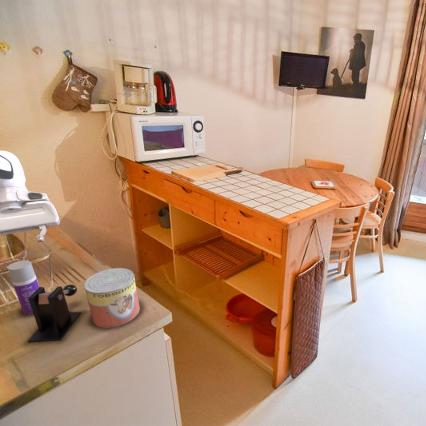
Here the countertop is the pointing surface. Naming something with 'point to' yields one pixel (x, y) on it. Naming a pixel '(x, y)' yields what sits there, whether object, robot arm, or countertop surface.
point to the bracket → (51, 316)
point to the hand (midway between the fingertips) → (19, 245)
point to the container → (24, 283)
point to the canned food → (112, 297)
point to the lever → (67, 290)
